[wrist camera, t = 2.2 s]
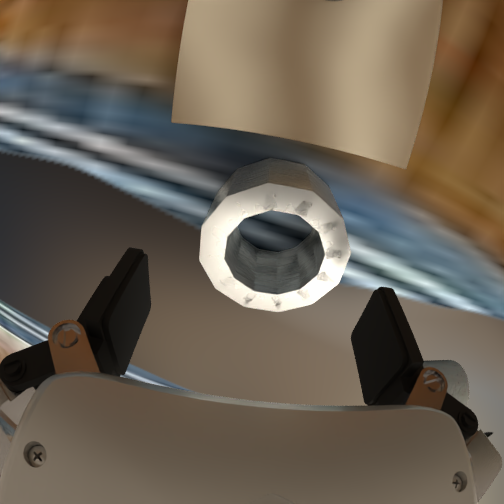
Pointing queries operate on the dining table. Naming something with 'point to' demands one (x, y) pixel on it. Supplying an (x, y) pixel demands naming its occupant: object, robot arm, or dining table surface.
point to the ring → (269, 262)
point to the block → (310, 71)
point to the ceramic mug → (453, 378)
